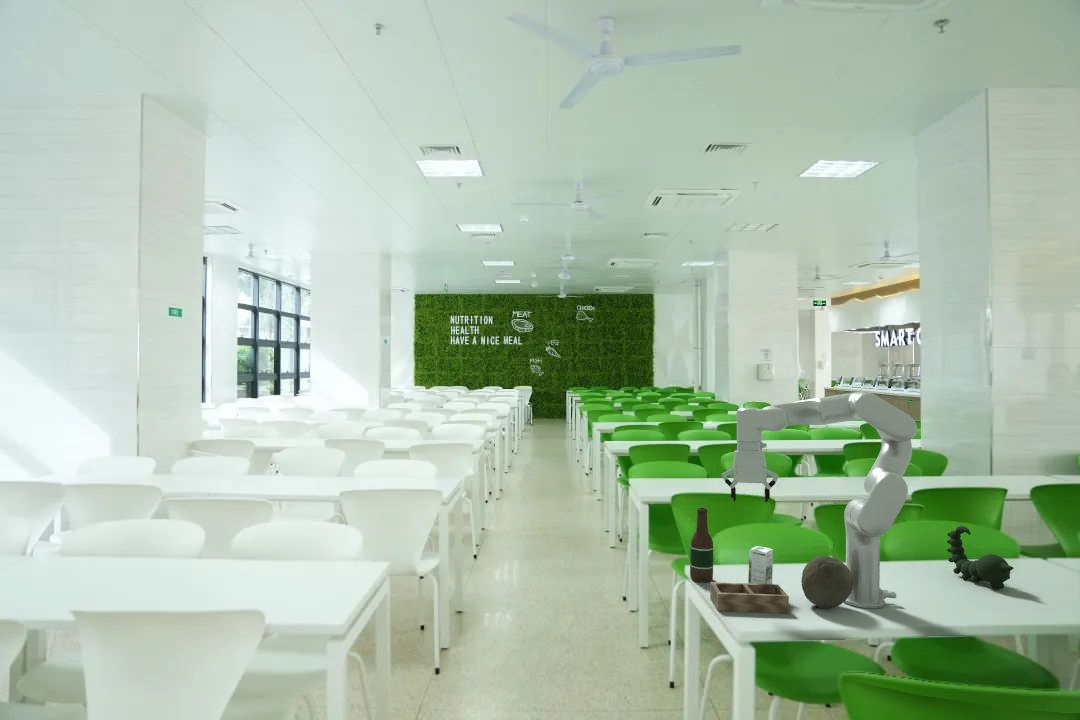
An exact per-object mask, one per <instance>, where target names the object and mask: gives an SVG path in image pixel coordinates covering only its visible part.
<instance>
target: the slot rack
mask: <svg viewBox="0 0 1080 720" xmlns="http://www.w3.org/2000/svg"><path fill="white" fill-rule="evenodd" d="M709 583H710V587H709V588H710V589H709V599H710V601H711V602H712V604H713V606H714V607H715V610H716V611H717V612H741V613H765V614H766V613H768V614H772V613H773V614H789V607H790V606H789V603H790V599H789V598H790V597H789V594H787V593H786V592H785V590H784V589H782V587H781V586H780V585H779V584H778V583H777V584H775V583H774V584H773V583H772V584H748V582H747V583H741V582H717V581H715V582H713V581H710V582H709Z"/></svg>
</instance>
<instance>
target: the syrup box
mask: <svg viewBox="0 0 1080 720" xmlns="http://www.w3.org/2000/svg"><path fill="white" fill-rule="evenodd" d="M773 558H774V549H772V548H770V547H765V546H758V545H756V546H754V547H752V548H750V549H749V550H748V577H747V578H748V582H747V583H748V584H773V568H774V567H773V566H774V565H773V564H774V563H773V562H774V559H773Z"/></svg>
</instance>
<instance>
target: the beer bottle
mask: <svg viewBox="0 0 1080 720" xmlns="http://www.w3.org/2000/svg"><path fill="white" fill-rule="evenodd" d="M696 512H697V515H696V528H695V532H693V534H692V535H691V538H690V545H689V546H690V547H689V550H690V551H689V576H690V579H691V580H692V581H694V582H698V583H710V582H713V580H714V579H713V578H714V542H713V538H712V536H711V535H710V533H709V529H708V512H709V511H708V508H707V507H698V508H696Z"/></svg>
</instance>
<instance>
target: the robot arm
mask: <svg viewBox="0 0 1080 720" xmlns="http://www.w3.org/2000/svg"><path fill="white" fill-rule="evenodd" d="M858 420H861V421H863V422H865V423H867V424H868V425H870V426H871V427H872V428H874V429H876V433H878V435H879V437H880V441H881V446H880V447H881V448H880V451H879V453H878V456H877V458H876V460H875V461H874V463H873V465H872V467H871V468H870V470H869V472H868V473H867V475H866V477H865V479H864V481H863V487H864V488H863V489H864V490H865V493H866V494H868V497H867V499H866V498H855V499H853V500H851V501H849V502H848V503H847V505H846V506H845V509H844V513H843V514H844V515H843V516H844V517H843V518H844V528H845V565H846V566H847V567H848V569H849V570H850V572H851V574H852V576H853V588H852V591H851V593H850V595H849V597H848V598H847V599H846V600H845V601H844V602H843V603H844V604H847V605H849V606H852V607H853V606H854V607H857V608H864V609H880V608H884V607H885V606H886V601H885V600H886V599H887V598H888V599H897V592H896V591H889V590H888V589H882V588H881V587H880V586H881V585H880V584H881V583H880V582H881V581H880V580H881V576H880V574H881V573H880V572H881V571H880V570H881V562H880V561H881V542H880V537H882V536H884V535H885V534H886V533H887V532H888V531H889V530H890V529H891V527H892V526H893V524H894V523H895V521H896V519H897V517H898V516H899V514H900V512H901V510H902V509H903V506H904V505H905V503H906V501H907V498H908V494H909V487H908V484H907V482H906V480H905V479H904V478H903V476H904V475H905V473H906V470H907V468H908V466H909V464H910V462H911V460H912V456H913V444H912V441H911V440H912V439H913V438H915V436H916V434H917V432H918V425H917V423H916V421H915V419H914V418H913V417H912V416H910V415H909V414H907V413H906V412H904V411H903V410H900V409H899V408H897V407H896V406H895V405H893V404H891V403H889V402H888V401H886V400H884V399H883V398H881V397H879V396H878V395H876V394H875V393H871V392H865V391H864V392H863V391H855V392H854V391H853V392H849V393H841V394H837V395H830V396H822V397H817V398H815V397H814V398H810V399H805V400H799V401H793V402H785V403H781V404H780V403H779V404H773V405H772V404H771V405H769V406H768V405H767V406H765V407H763V408H762V409H761V408H760V409H759V408H758V407H741V408H738V409H737V410H736V450H734V453H733V461H732V463H733V464H732V468H730V469H728V470H726V471H725V472H722V473H721V477H722V479H723V481H724V482H725V484H727V486H729V488H730V498H732V500H733V501H734V502H736V501H737V493H736V491H737V489H736V486H737V484H738V483H742V484H743V483H744V484H745V483H746V484H762V485H763V486H764V502H765V503H768V501H769V500H770V499H771V491H770V490H771V489H772V488H773V487H774V486H775V485H776V483H777V481H778V480H779V474H778V473H776V472H773V471H772V470H770V469H768V468H767V461H766V454H765V450H763V449H764V448H767V443H766V442H763V441H762V439H763V438H762V431H767V432H773V433H774V432H781V431H783V430H785V429H786V428H787V427H791V426H801V425H809V426H824V425H825V426H826V425H831V424H837V423H845V422H850V421H858ZM729 475H732V477H733V480H732V481H731V480H729V478H728V476H729ZM768 476H770V477H772V479H771V481H769V482H768V481H767V480H768V479H767V478H768Z"/></svg>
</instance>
